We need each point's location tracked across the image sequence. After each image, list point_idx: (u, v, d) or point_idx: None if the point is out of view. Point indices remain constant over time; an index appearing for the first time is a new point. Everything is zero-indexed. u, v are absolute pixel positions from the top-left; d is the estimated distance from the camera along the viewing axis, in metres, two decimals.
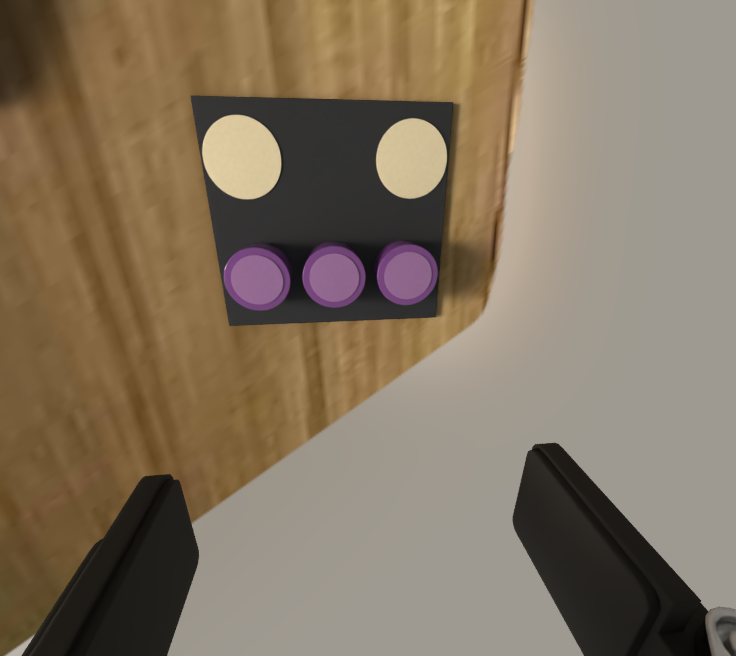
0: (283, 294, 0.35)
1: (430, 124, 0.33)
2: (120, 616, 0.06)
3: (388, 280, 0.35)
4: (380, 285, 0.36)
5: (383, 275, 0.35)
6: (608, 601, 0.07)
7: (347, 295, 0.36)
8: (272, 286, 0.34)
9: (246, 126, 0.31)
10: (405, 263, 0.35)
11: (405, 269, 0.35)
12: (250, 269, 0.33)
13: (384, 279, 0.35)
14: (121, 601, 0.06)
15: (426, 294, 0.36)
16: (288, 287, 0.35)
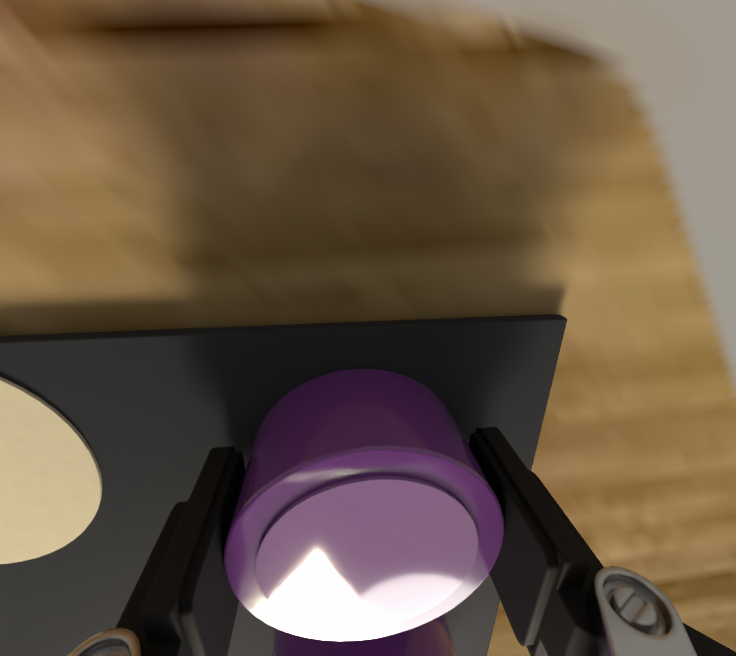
0: None
1: None
2: (213, 560, 0.07)
3: (386, 613, 0.09)
4: (404, 628, 0.09)
5: (364, 629, 0.09)
6: (523, 566, 0.07)
7: None
8: None
9: None
10: (311, 575, 0.08)
11: (337, 576, 0.08)
12: None
13: (379, 623, 0.09)
14: (213, 547, 0.07)
15: (468, 481, 0.07)
16: None
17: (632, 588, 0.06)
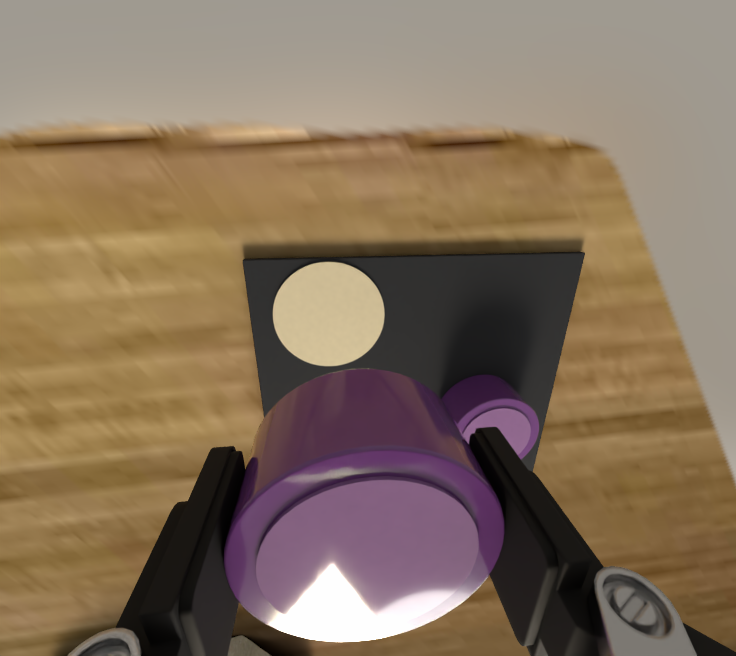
0: None
1: (278, 293, 0.21)
2: (213, 560, 0.07)
3: (386, 613, 0.09)
4: (405, 629, 0.09)
5: (364, 630, 0.09)
6: (522, 566, 0.07)
7: (524, 420, 0.23)
8: None
9: None
10: (312, 575, 0.08)
11: (338, 576, 0.08)
12: None
13: (380, 623, 0.09)
14: (213, 547, 0.07)
15: (469, 482, 0.07)
16: None
17: (632, 588, 0.06)
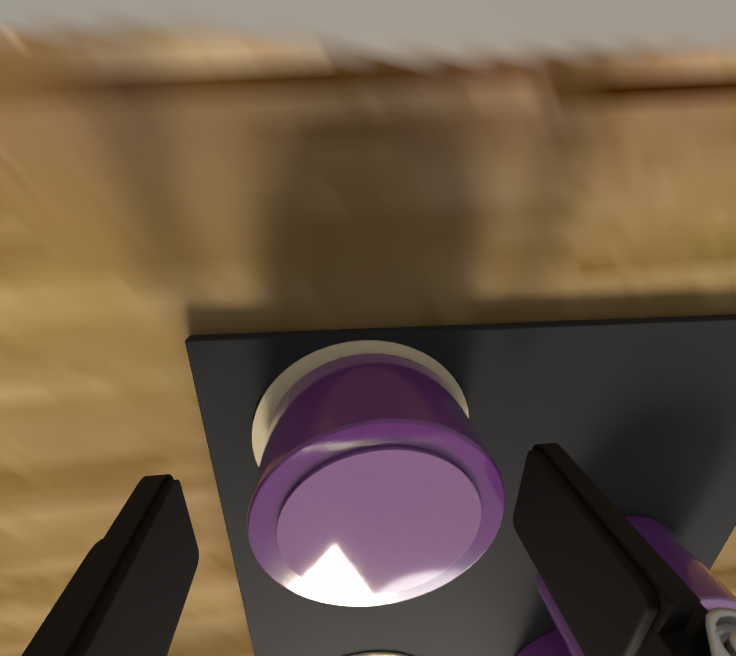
0: None
1: (261, 402, 0.10)
2: (120, 616, 0.06)
3: (395, 579, 0.09)
4: (412, 595, 0.10)
5: (374, 595, 0.09)
6: (608, 601, 0.07)
7: None
8: None
9: None
10: (327, 541, 0.08)
11: (351, 541, 0.08)
12: None
13: (389, 589, 0.09)
14: (121, 601, 0.06)
15: (472, 453, 0.08)
16: None
17: None
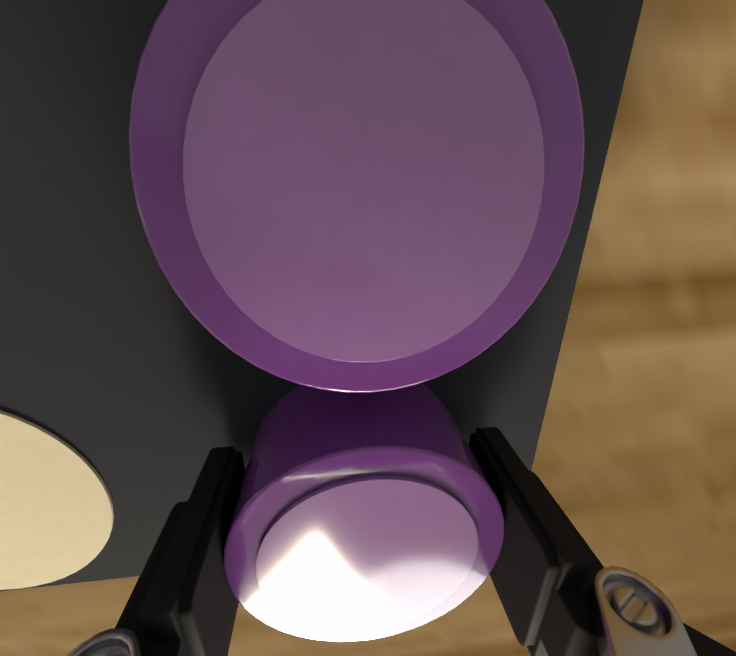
0: (447, 472, 0.07)
1: None
2: (213, 560, 0.07)
3: None
4: None
5: None
6: (523, 566, 0.07)
7: (514, 100, 0.05)
8: (402, 514, 0.07)
9: None
10: None
11: None
12: (323, 584, 0.08)
13: None
14: (213, 547, 0.07)
15: None
16: (412, 454, 0.07)
17: (632, 588, 0.06)
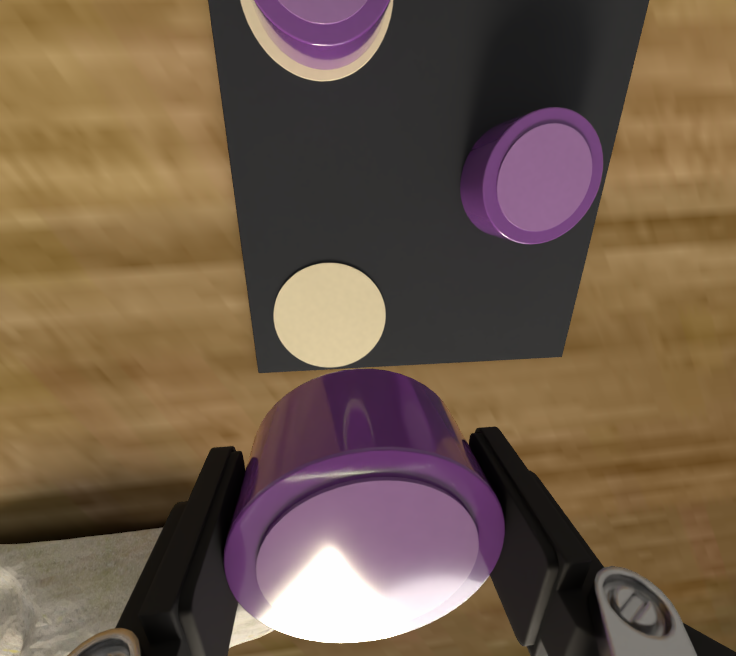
0: (449, 473, 0.07)
1: None
2: (213, 560, 0.07)
3: (331, 12, 0.14)
4: (345, 37, 0.14)
5: (318, 26, 0.14)
6: (523, 566, 0.07)
7: (584, 152, 0.17)
8: (403, 515, 0.07)
9: (287, 309, 0.22)
10: None
11: None
12: (323, 585, 0.08)
13: (328, 23, 0.14)
14: (213, 547, 0.07)
15: None
16: (413, 455, 0.07)
17: (632, 588, 0.06)
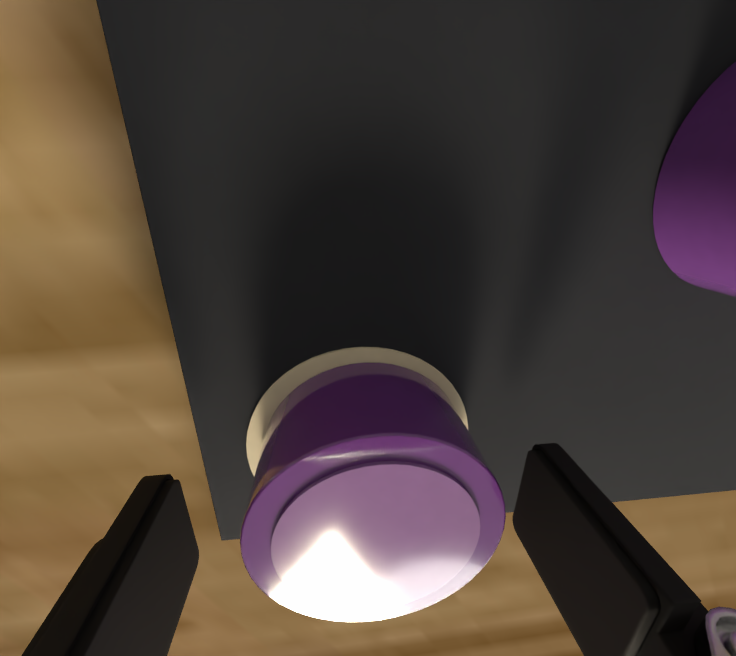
0: (452, 458, 0.07)
1: None
2: (120, 616, 0.06)
3: None
4: None
5: None
6: (608, 601, 0.07)
7: None
8: (409, 497, 0.08)
9: None
10: None
11: None
12: (334, 566, 0.08)
13: None
14: (121, 601, 0.06)
15: None
16: (419, 441, 0.07)
17: None
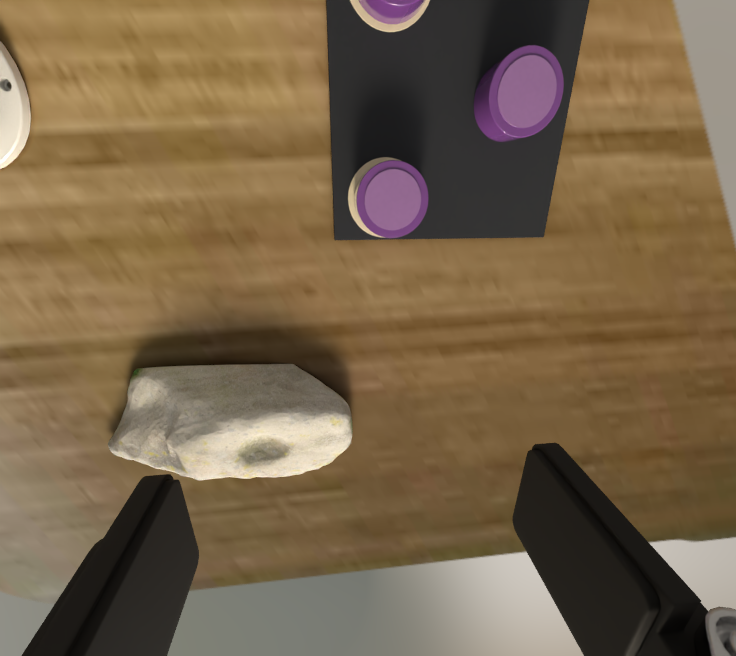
0: (412, 170, 0.29)
1: None
2: (120, 616, 0.06)
3: None
4: (411, 0, 0.25)
5: None
6: (608, 601, 0.07)
7: (551, 74, 0.28)
8: (401, 183, 0.29)
9: None
10: None
11: None
12: (380, 207, 0.30)
13: None
14: (121, 601, 0.06)
15: None
16: (403, 163, 0.29)
17: None
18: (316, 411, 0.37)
